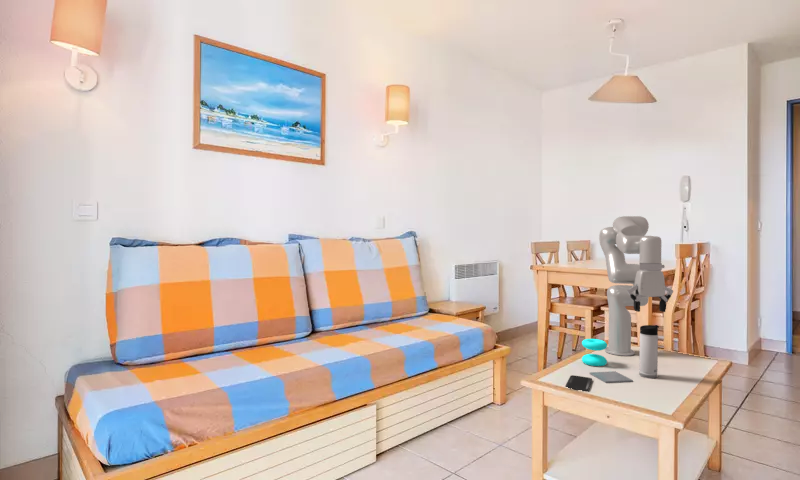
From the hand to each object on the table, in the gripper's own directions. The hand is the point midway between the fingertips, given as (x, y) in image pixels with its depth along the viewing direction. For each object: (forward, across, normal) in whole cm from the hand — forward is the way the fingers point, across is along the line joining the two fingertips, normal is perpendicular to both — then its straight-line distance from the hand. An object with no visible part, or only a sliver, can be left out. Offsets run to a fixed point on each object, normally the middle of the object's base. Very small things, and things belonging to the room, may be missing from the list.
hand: (649, 311), depth 179 cm
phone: (+26, +31, +11) cm, 42 cm away
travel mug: (+26, 0, 0) cm, 26 cm away
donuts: (+26, +15, -16) cm, 34 cm away
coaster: (+26, +16, +3) cm, 30 cm away
